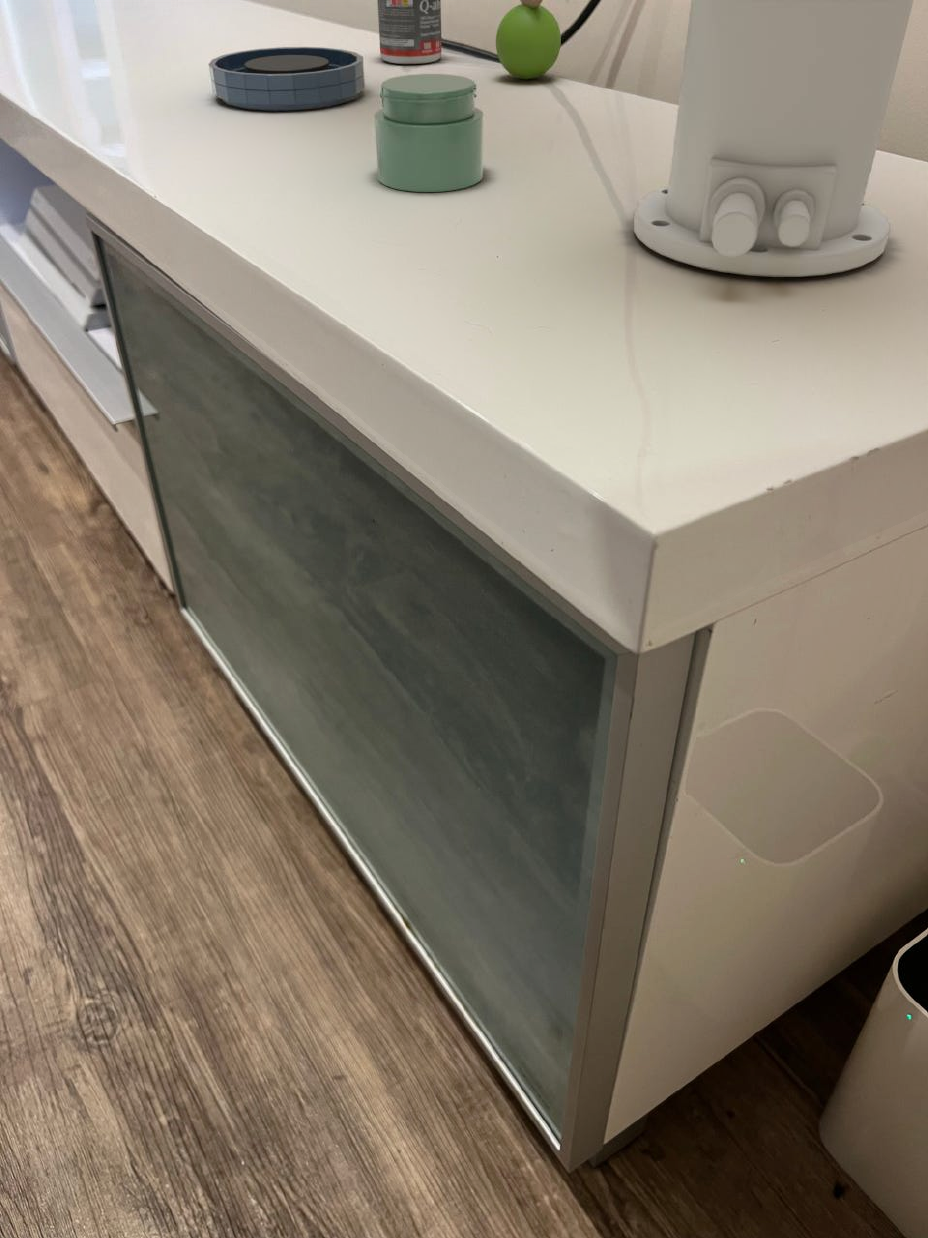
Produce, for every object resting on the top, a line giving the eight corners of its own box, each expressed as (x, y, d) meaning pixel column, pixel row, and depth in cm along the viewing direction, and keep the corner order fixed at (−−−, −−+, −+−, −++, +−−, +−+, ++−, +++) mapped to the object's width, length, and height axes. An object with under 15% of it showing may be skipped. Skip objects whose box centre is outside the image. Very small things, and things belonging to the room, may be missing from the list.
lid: (348, 85, 77) (346, 59, 75) (296, 100, 72) (293, 73, 71) (284, 77, 79) (281, 51, 78) (230, 91, 75) (226, 65, 74)
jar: (468, 195, 55) (468, 96, 52) (364, 188, 56) (357, 91, 53) (493, 165, 60) (494, 74, 56) (396, 160, 61) (391, 69, 58)
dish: (334, 115, 70) (331, 77, 69) (188, 108, 73) (181, 71, 71) (384, 83, 79) (382, 49, 78) (252, 77, 82) (248, 44, 80)
